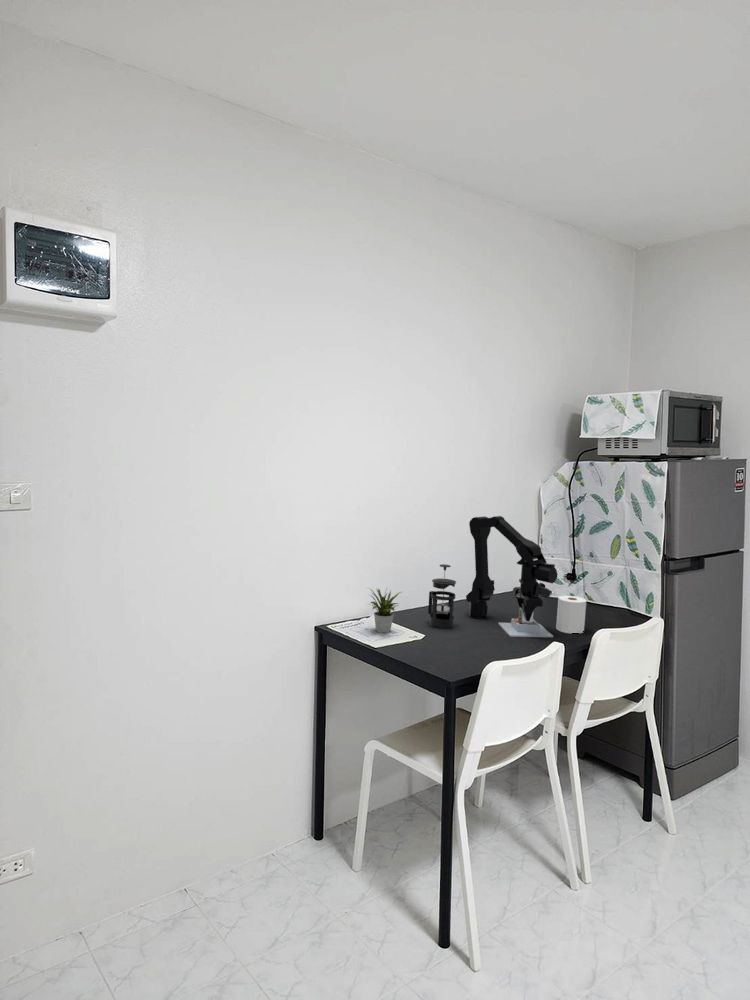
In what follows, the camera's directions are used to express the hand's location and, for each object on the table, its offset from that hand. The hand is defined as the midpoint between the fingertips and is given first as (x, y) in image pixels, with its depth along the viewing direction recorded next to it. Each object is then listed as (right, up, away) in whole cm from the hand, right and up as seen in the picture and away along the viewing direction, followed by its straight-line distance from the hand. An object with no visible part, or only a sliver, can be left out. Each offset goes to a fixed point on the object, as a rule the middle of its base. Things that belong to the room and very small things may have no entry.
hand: (525, 619), depth 263 cm
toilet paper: (+17, -5, +4) cm, 19 cm away
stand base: (0, -4, 0) cm, 4 cm away
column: (0, -4, 0) cm, 4 cm away
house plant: (-55, -3, -9) cm, 55 cm away
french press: (-32, -3, +3) cm, 32 cm away
